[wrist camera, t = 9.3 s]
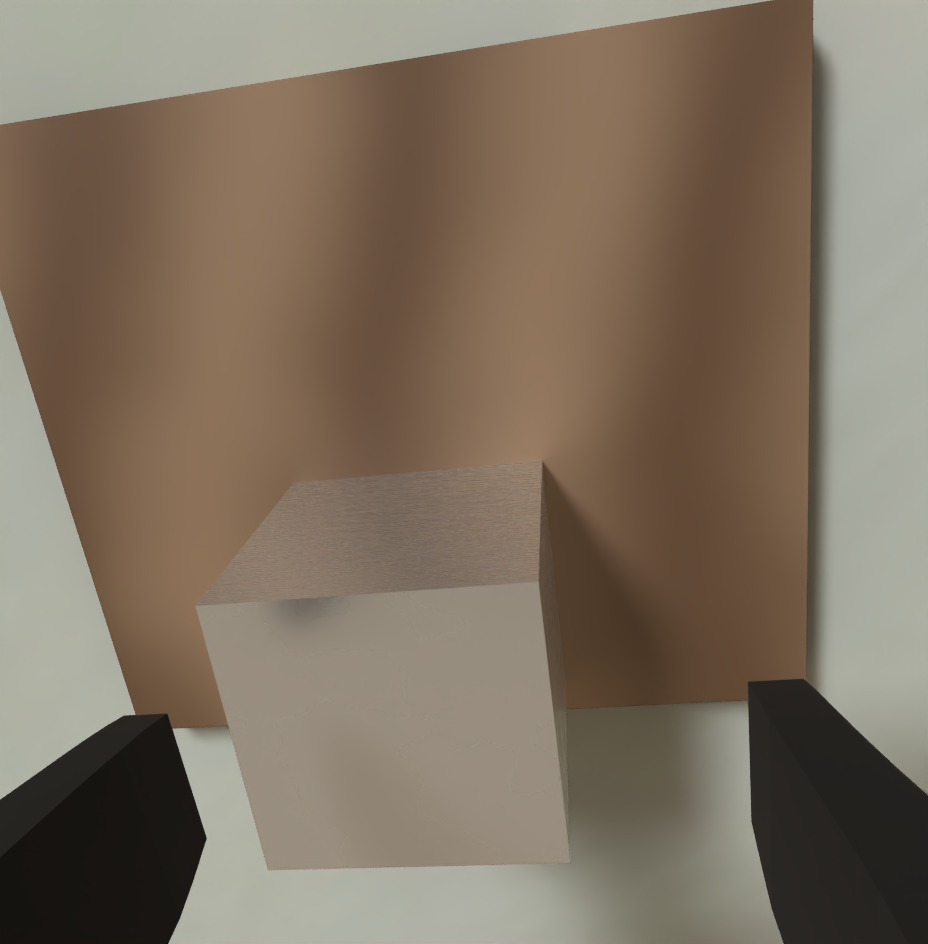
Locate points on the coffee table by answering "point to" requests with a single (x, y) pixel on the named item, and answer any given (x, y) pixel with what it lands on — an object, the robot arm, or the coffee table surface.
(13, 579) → the coffee table surface
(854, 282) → the coffee table surface
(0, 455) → the coffee table surface
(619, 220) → the walnut board
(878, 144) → the coffee table surface
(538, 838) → the brushed aluminum cube
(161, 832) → the robot arm
